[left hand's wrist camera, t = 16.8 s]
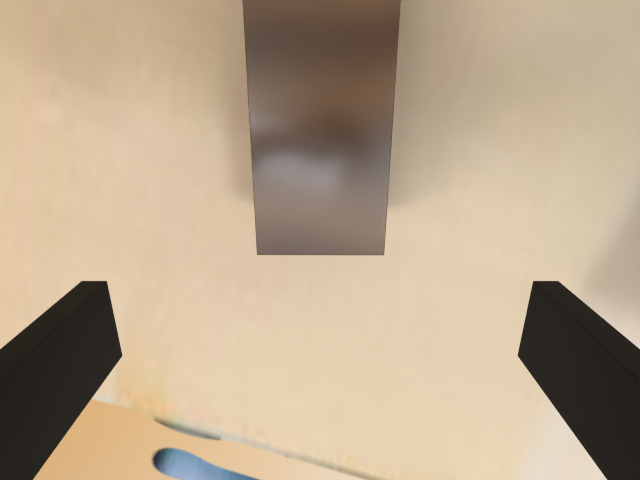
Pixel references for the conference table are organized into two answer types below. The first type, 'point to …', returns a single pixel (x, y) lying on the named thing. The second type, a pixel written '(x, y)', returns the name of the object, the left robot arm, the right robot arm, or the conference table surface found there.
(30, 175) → the conference table surface
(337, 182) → the box
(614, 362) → the left robot arm
